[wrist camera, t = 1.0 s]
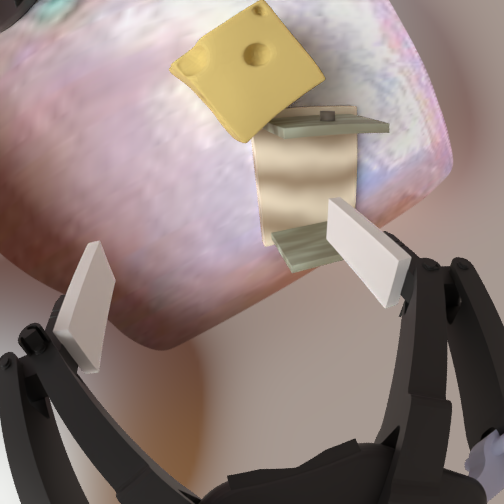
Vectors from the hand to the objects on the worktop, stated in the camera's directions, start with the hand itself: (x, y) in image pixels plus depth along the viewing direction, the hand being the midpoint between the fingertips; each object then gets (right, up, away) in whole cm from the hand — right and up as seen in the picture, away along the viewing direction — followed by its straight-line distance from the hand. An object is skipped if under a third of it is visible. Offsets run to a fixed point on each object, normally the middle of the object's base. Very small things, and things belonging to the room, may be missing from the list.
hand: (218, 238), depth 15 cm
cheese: (0, +20, +13) cm, 23 cm away
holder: (+9, +10, +21) cm, 25 cm away
